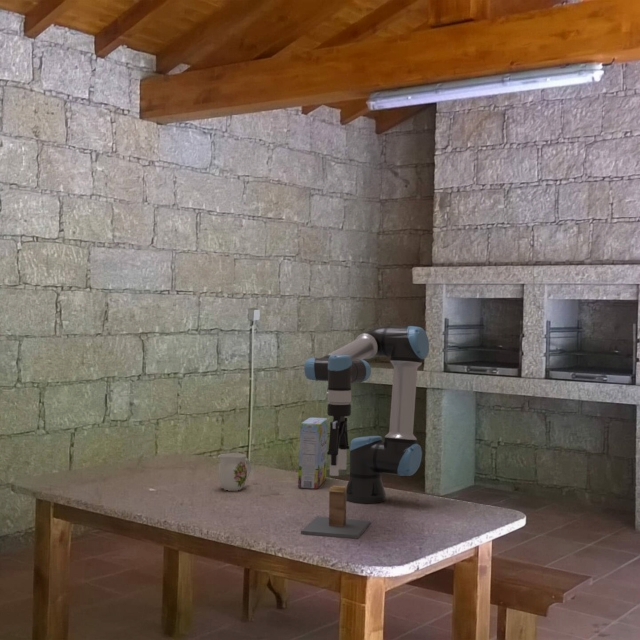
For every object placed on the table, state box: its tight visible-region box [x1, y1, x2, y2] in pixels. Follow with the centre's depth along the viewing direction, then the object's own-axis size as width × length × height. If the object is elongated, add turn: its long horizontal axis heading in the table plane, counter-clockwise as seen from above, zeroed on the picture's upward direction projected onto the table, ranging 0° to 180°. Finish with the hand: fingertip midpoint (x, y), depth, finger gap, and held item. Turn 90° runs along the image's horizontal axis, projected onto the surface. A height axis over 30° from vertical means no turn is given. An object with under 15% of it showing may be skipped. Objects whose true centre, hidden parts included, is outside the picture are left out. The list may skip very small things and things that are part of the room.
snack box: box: [297, 417, 329, 490], centre depth 347 cm, size 22×9×26 cm, turn 171°
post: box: [328, 485, 347, 527], centre depth 277 cm, size 4×4×12 cm
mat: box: [300, 516, 371, 540], centre depth 276 cm, size 20×18×1 cm
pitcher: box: [217, 452, 252, 492], centre depth 335 cm, size 11×18×14 cm, turn 143°
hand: (338, 472), depth 276 cm, fingers open, 10 cm apart
